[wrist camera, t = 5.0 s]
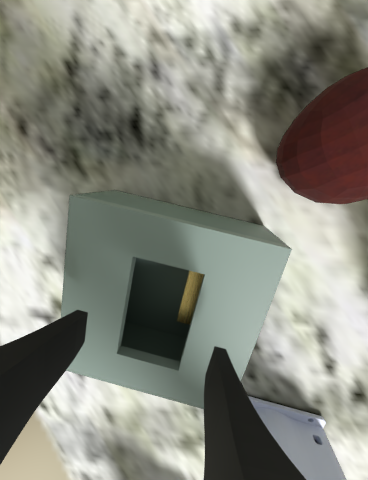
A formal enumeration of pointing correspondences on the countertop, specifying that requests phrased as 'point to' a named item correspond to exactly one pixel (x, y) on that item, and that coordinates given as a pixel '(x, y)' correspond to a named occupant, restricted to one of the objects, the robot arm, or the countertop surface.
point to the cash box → (164, 290)
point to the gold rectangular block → (189, 297)
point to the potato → (329, 144)
